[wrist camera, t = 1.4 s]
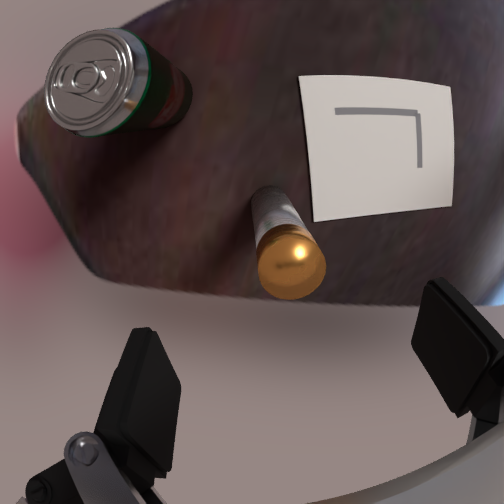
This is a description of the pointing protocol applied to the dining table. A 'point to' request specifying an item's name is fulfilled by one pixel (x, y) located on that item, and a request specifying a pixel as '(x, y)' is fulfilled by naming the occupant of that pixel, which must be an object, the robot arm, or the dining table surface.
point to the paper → (377, 145)
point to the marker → (284, 247)
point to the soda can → (114, 85)
